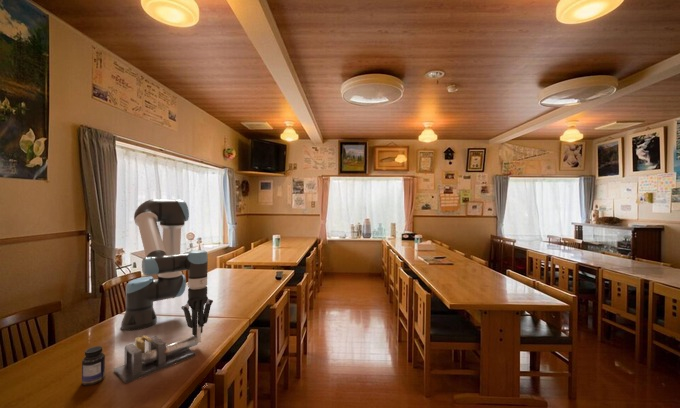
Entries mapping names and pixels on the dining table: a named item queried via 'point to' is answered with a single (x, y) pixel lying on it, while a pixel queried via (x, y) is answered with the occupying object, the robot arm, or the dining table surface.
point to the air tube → (170, 349)
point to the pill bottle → (93, 366)
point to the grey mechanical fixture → (137, 370)
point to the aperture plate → (141, 342)
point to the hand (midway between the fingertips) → (197, 341)
